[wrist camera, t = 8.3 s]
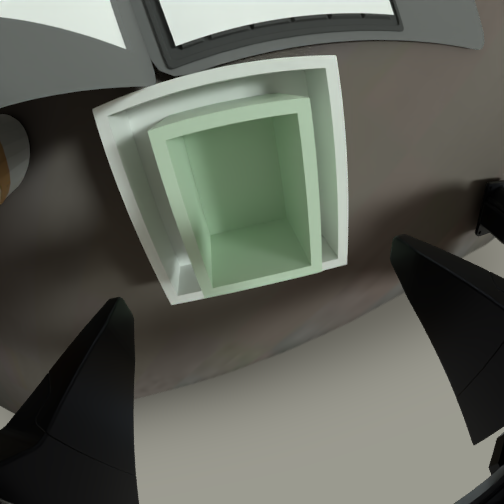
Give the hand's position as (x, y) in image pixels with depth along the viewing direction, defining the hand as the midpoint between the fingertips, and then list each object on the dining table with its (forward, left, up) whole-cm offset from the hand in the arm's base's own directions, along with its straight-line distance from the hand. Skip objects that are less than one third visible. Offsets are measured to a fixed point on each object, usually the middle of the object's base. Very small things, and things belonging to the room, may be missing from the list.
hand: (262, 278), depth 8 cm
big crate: (0, 0, -11) cm, 11 cm away
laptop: (-8, -27, -12) cm, 30 cm away
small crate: (0, 0, -11) cm, 11 cm away
